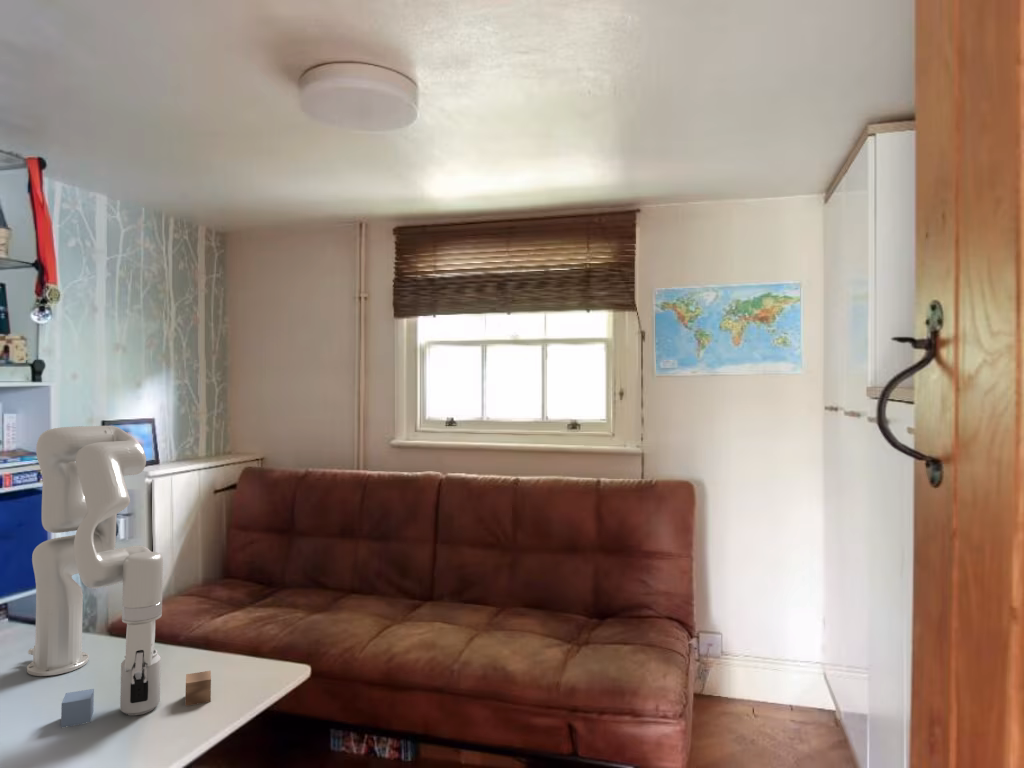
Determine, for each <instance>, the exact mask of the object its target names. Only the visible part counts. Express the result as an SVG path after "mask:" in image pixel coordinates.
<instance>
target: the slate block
mask: <svg viewBox="0 0 1024 768" xmlns="http://www.w3.org/2000/svg"><path fill="white" fill-rule="evenodd" d="M94 693H95V689H94V688H89V689H84V690H77V691H70V692H66V693H65V694H64V696H63V699H62V700H61V714H60V715H61V716H60V717H61V718H60V720H61V721H60V722H61V723H60V728H61V727H63V728H67V727H66V726H68V727H73V725H74V726H79V725H78V724H80V725H83V724H82V723H86V722H90V723H91V721H92V718H93V715H94V709H95V708H94V707H95V701H94V699H95V694H94ZM90 720H91V721H90ZM86 724H87V723H86Z"/></svg>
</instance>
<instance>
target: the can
mask: <svg viewBox="0 0 1024 768" xmlns="http://www.w3.org/2000/svg"><path fill="white" fill-rule="evenodd" d="M158 652H159V651H158V650H157V649H156V648H154V652H153V656H152V662H151V666H150V667H149V668H148V669H147V681H148V700H147V701H143V702H137V703H131V702H130V690H131V683H132V669H131V670H128V672H126V671H125V659H123V660H122V662H121V664H120V702H119V704H120V707H119V709H120V711H121V712H122V713H123V714H125V715H127V714H128V715H127V716H140V715H145V714H147V713H150V712H152V711H153V710H154V709H156V707H157V706H158V705H159V704H160V702H161V673H162V672H161V671H162V669H161V667H162V666H161V665H162V662H161V661H162V658H161V656H160V655H159V654H158ZM143 655H144V652H143ZM143 657H144V656H143ZM135 666H136V665H135ZM142 667H145V663H143V665H142ZM132 668H133V667H132ZM142 673H144V670H142Z"/></svg>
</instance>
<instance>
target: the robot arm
mask: <svg viewBox="0 0 1024 768" xmlns="http://www.w3.org/2000/svg"><path fill="white" fill-rule="evenodd" d="M36 458H37V462H38V465H39V468H40V471H41V475H42V491H41V493H42V494H41V525H42V527H43V530H45V531H46V532H48V533H54V534H58V533H59V534H60V533H68V532H69V533H70V532H75V531H76V532H75V534H72V535H71V534H70V535H67V536H60V537H55V538H50V539H47V540H44V541H43V542H40V543H39V544H38V545H37V546H36V547H35V548H34V549H33V551H32V556H31V557H32V558H31V562H32V568H33V573H34V579H35V581H34V582H35V594H36V595H35V598H36V599H35V635H34V636H35V638H34V639H35V643H34V646H33V648H30V649H29V650H28V651H27V654H28V655H31V656H33V657H32V658H33V659H32V660H33V661H31V662H30V663H28V665H27V666H26V673H27V674H29V675H30V676H34V677H35V676H36V677H47V676H48V677H51V676H57V675H61V674H66V673H69V672H73V671H76V670H78V669H79V668H82V667H84V666H85V665H86V664H87V663H88V662H89V660H90V659H89V658H90V655H89V654H88V653H87V652H84V651H82V650H83V649H82V647H83V645H82V643H83V607H84V604H83V602H84V598H83V596H84V594H83V589H82V587H81V586H80V585H79V583H78V582H76V580H74V578H73V576H74V575H79V578H80V580H81V582H82V583H83V585H84V586H85V587H87V588H90V589H100V588H106V587H110V586H114V585H119V584H122V598H121V599H122V600H121V603H122V606H121V621H122V623H124V624H126V633H125V634H126V636H125V655H124V660H125V671H126V672H128V670H131V669H132V683H131V690H130V702H131V703H137V702H143V701H147V700H148V681H147V669H148V668H149V667H150V666H151V662H152V656H153V652H154V649H155V640H156V621H157V620H159V619H160V618H162V615H163V576H164V574H163V571H164V569H163V568H164V567H163V566H164V560H163V556H162V554H160V553H159V552H157V551H151V550H150V549H149V548H148V547H147V546H144V545H131V546H126V547H121V548H120V547H119V548H116V542H117V541H116V538H117V537H116V535H117V514H120V513H121V512H122V511H124V510H125V509H127V508H128V507H129V505H130V503H131V497H130V494H129V490H128V487H127V483H126V480H125V476H134V475H138V474H140V473H142V472H143V471H144V470H145V468H146V465H147V456H146V452H145V449H144V448H143V446H142V444H140V442H139V441H138V440H137V439H136V438H135V437H133V436H132V435H130V434H129V433H128V432H126V431H125V430H123V429H122V428H120V427H118V426H116V425H115V426H113V425H89V426H87V425H86V426H83V425H82V426H62V427H55V428H50V429H47V430H45V431H43V432H42V433H41V434H40V435H39V437H38V439H37V442H36ZM143 652H144V655H143ZM143 656H144V657H143ZM143 663H145V667H142V665H143ZM135 665H136V666H135ZM132 667H133V668H132ZM142 670H144V673H142Z"/></svg>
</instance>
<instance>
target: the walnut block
mask: <svg viewBox="0 0 1024 768" xmlns="http://www.w3.org/2000/svg"><path fill="white" fill-rule="evenodd" d="M211 689H212V672H211V670H205V671H199V672H193V673H187V674H185V701H184V703H185V707H187V706H189V707H190V706H193V705H199V704H205V703H210V702H212V699H211V696H212V695H211V694H212V690H211Z"/></svg>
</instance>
